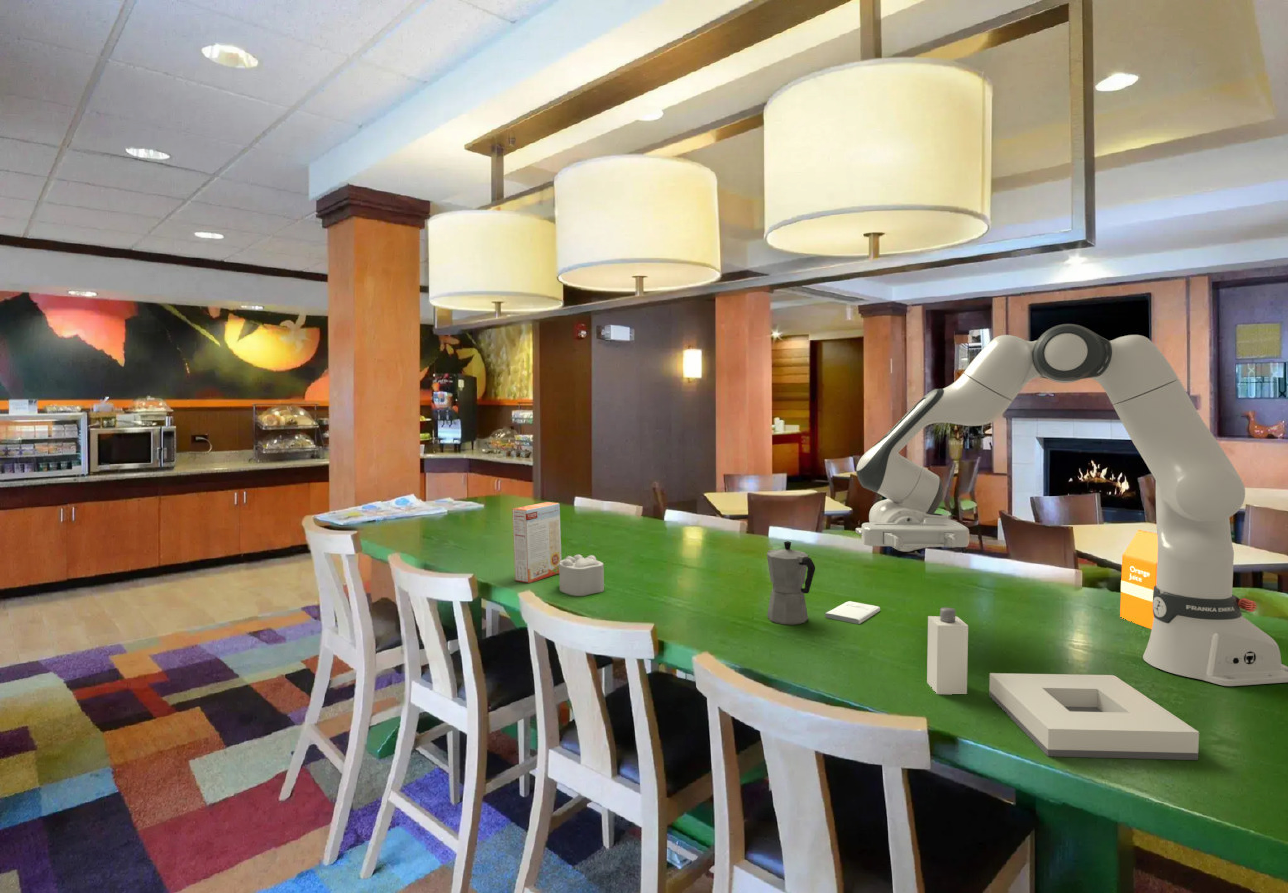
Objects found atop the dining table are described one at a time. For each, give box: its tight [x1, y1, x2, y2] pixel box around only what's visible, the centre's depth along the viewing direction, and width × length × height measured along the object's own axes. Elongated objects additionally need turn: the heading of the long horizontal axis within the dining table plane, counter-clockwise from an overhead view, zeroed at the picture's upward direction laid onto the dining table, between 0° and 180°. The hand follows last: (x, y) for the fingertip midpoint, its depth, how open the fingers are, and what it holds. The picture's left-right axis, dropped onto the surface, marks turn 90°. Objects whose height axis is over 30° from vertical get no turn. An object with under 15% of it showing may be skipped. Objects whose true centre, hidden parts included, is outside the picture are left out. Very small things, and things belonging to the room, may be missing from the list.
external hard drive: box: [824, 600, 881, 625], centre depth 165 cm, size 2×8×12 cm
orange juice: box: [1119, 529, 1158, 630], centre depth 155 cm, size 8×9×20 cm
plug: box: [926, 606, 969, 695], centre depth 122 cm, size 5×5×14 cm
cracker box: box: [511, 501, 563, 584], centre depth 202 cm, size 14×6×21 cm, turn 144°
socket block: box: [988, 672, 1200, 761], centre depth 108 cm, size 20×20×4 cm
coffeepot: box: [766, 540, 816, 626], centre depth 160 cm, size 15×9×18 cm, turn 28°
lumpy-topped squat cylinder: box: [558, 554, 605, 597], centre depth 190 cm, size 10×13×9 cm
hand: (925, 543), depth 133 cm, fingers open, 8 cm apart
